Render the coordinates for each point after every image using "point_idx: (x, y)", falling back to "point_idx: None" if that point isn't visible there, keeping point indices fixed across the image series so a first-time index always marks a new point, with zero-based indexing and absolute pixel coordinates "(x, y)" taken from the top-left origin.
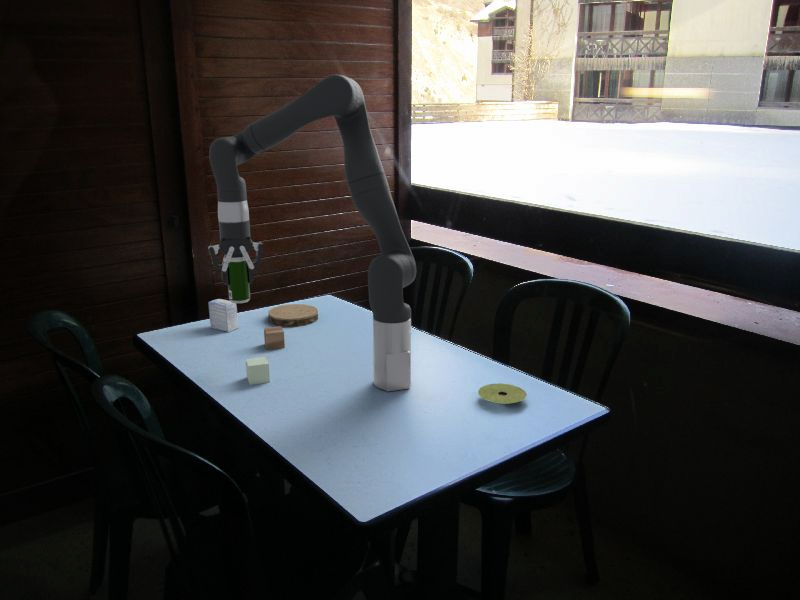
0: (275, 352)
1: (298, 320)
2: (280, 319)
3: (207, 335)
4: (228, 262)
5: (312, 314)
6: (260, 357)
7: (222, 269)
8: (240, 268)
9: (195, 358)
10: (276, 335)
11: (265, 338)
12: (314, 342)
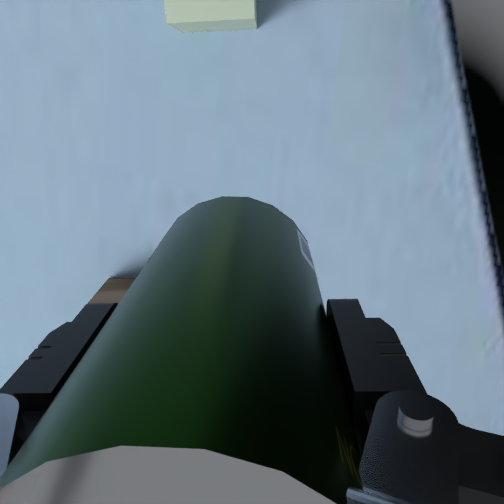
0: (141, 246)
1: None
2: None
3: None
4: (367, 499)
5: None
6: (188, 19)
7: (445, 415)
8: (148, 348)
9: (408, 274)
10: (118, 300)
11: None
12: (7, 296)
